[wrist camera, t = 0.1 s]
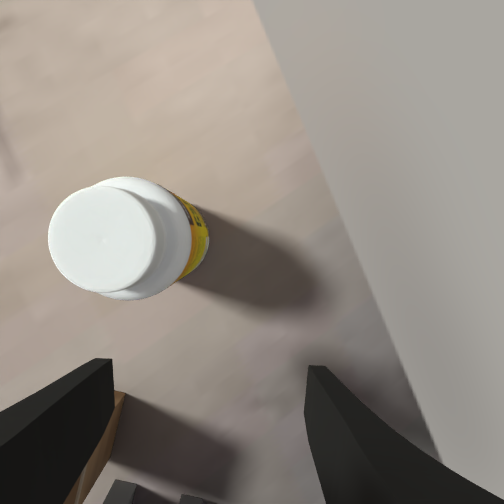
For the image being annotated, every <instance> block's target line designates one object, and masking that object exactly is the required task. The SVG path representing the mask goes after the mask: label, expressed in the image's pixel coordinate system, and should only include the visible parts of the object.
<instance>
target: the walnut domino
mask: <svg viewBox="0 0 504 504" xmlns="http://www.w3.org/2000/svg"><path fill="white" fill-rule="evenodd" d="M125 394H126V393H123V392H118V391H114V397H115V409H114V411H113V414H112V416H111V418H110V421H109V423H108V425H107V428H106V430H105V432H104V434H103V436H102V438H101V440H100V442H99V443H98V445H97V447H96V449H95V450H94V452H93V454H92V456H91V457H90V459H89V461H88V462H87V464H86V466H85V468H84V469H83V471H82V473H81V474H80V476H79V478H78V479H77V481H76V483H75V485H74V486H73V488H72V490H71V491H70V493H69V495H68V496H67V498H66V500H65V502H64V503H63V504H82V503H83V502H84V500H85V498H86V497H87V495H88V493H89V492H90V490H91V488H92V487H93V485H94V483H95V482H96V480H97V478H98V477H99V475H100V473H101V472H102V470H103V468H104V467H105V465H106V463H107V462H108V460H109V458H110V455H111V451H112V447H113V443H114V439H115V435H116V431H117V427H118V422H119V418H120V414H121V410H122V406H123V402H124V398H125Z"/></svg>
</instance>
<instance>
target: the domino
mask: <svg viewBox="0 0 504 504" xmlns="http://www.w3.org/2000/svg"><path fill="white" fill-rule="evenodd" d="M136 486H137V484H134V483H129V482H125V481H120V480H115V481H114V483H113V485H112V487H111V489H110V491H109V493H108V495H107V497H106V499H105V500H104V502H103V504H132V502H133V498H134V494H135V490H136Z"/></svg>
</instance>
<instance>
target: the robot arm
mask: <svg viewBox="0 0 504 504" xmlns="http://www.w3.org/2000/svg"><path fill="white" fill-rule="evenodd" d="M114 409H115V397H114V381H113V365H112V359H102V358H95V359H93V360H91V361H89V362H87V363H85V364H84V365H82V366H80V367H78V368H77V369H75V370H73V371H72V372H70V373H68V374H67V375H65V376H63V377H62V378H60V379H58V380H56V381H55V382H53V383H51V384H50V385H48V386H46V387H45V388H43V389H41V390H39V391H38V392H36V393H34V394H32V395H30V396H29V397H27V398H25V399H23V400H21V401H20V402H18V403H16V404H14V405H12V406H10V407H9V408H7V409H5V410H3V411H1V412H0V504H63V503H64V502H65V500H66V498H67V496H68V495H69V493H70V491H71V490H72V488H73V486H74V485H75V483H76V481H77V479H78V478H79V476H80V474H81V473H82V471H83V469H84V468H85V466H86V464H87V462H88V461H89V459H90V457H91V456H92V454H93V452H94V450H95V449H96V447H97V445H98V443H99V442H100V440H101V438H102V436H103V434H104V432H105V430H106V428H107V425H108V423H109V421H110V418H111V416H112V414H113V411H114ZM304 417H305V423H306V430H307V435H308V441H309V445H310V449H311V452H312V456H313V459H314V463H315V466H316V470H317V473H318V477H319V480H320V484H321V487H322V491H323V494H324V498H325V501H326V504H504V500H503V499H501V498H499V497H497V496H495V495H494V494H492V493H490V492H488V491H487V490H485V489H483V488H481V487H479V486H478V485H476V484H474V483H472V482H470V481H469V480H467V479H465V478H464V477H462V476H460V475H459V474H457V473H455V472H454V471H452V470H450V469H449V468H447V467H446V466H444V465H443V464H441V463H440V462H438V461H437V460H435V459H434V458H432V457H430V456H429V455H427V454H426V453H424V452H423V451H422V450H420V449H419V448H417V447H416V446H414V445H413V444H412V443H410V442H409V441H408V440H406V439H405V438H404V437H402V436H401V435H400V434H398V433H397V432H396V431H394V430H393V429H392V428H391V427H389V426H388V425H387V424H386V423H385V422H383V421H382V420H381V419H380V418H379V417H378V416H376V415H375V414H374V413H373V412H372V411H371V410H370V409H368V408H367V407H366V406H365V405H364V404H363V403H362V402H361V401H360V400H359V399H358V398H357V397H356V396H355V395H354V394H352V393H351V392H350V391H349V390H348V389H347V388H346V387H345V386H344V385H343V384H342V383H341V382H340V381H339V379H338V378H337V377H336V376H335V375H334V374H333V373H332V372H331V371H330V370H329V369H328V368H327V367H326V366H311V365H309V367H308V377H307V387H306V396H305V406H304Z"/></svg>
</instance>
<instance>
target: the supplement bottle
mask: <svg viewBox="0 0 504 504" xmlns="http://www.w3.org/2000/svg"><path fill="white" fill-rule="evenodd" d="M48 244H49V250H50V253H51V256H52V259H53V261H54V263H55V265H56V266H57V268H58V269H59V271H60V272H61V273H62V274H63V275H64V276H65V277H66V278H67V279H68V280H69V281H71V282H72V283H73V284H75V285H77V286H78V287H80V288H83V289H85V290H88V291H92V292H97V293H99V294H101V295H103V296H106V297H109V298H113V299H117V300H139V299H144V298H148V297H151V296H153V295H156V294H158V293H160V292H162V291H163V290H165V289H166V288H168V287H169V286H171V285H172V284H174V283H175V282H177V281H178V280H180V279H181V278H183V277H184V276H186V275H187V274H189V273H190V272H192V271H193V270H194V269H195V268H197V267H198V265H199V264H200V263H201V262H202V260H203V259H204V257H205V255H206V253H207V250H208V246H209V231H208V227H207V224H206V221H205V219H204V218H203V216H202V215H201V213H200V212H199V211H198V210H197V209H196V208H195V207H194V206H193V205H191V204H190V203H188V202H187V201H185V200H183V199H182V198H180V197H178V196H177V195H175V194H174V193H172V192H170V191H168V190H167V189H165V188H163V187H162V186H160V185H158V184H155V183H153V182H151V181H148V180H145V179H142V178H137V177H116V178H111V179H107V180H104V181H102V182H99V183H97V184H95V185H93V186H92V187H88V188H84V189H82V190H79V191H77V192H75V193H73V194H72V195H70V196H69V197H67V198H66V199H65V200H64V201H63V202H62V203H61V204H60V205H59V207H58V208H57V210H56V211H55V213H54V215H53V217H52V219H51V222H50V226H49V233H48Z"/></svg>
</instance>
